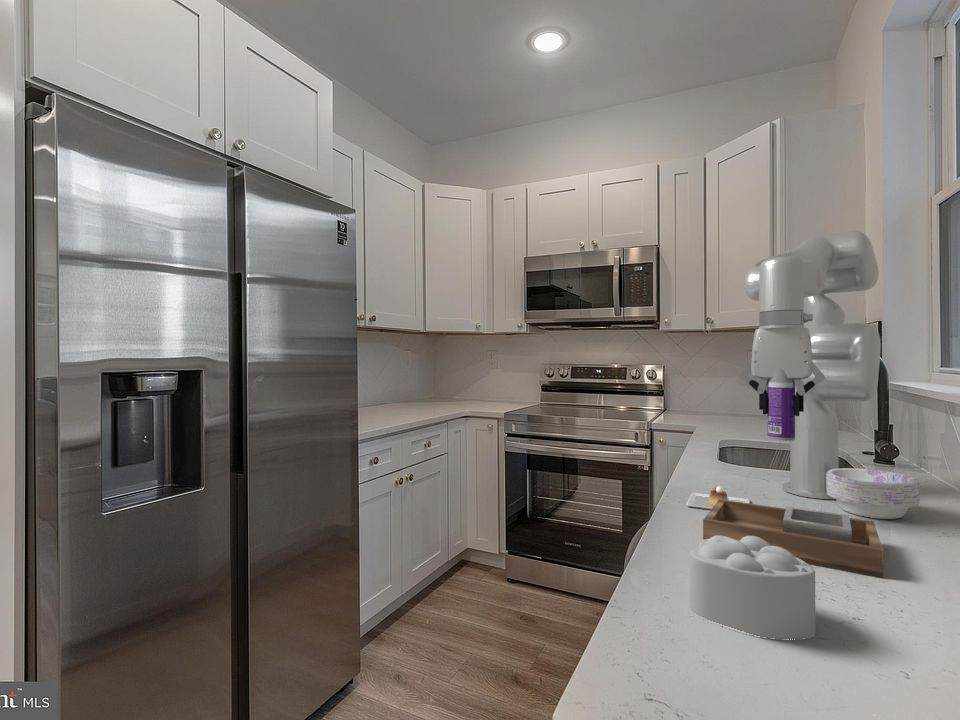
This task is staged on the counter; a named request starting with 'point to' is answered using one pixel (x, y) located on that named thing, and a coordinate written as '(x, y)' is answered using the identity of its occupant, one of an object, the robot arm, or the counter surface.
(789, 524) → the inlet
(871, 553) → the walled tray
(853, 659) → the counter surface
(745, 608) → the lumpy-topped squat cylinder
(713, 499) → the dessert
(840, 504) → the paper bowls
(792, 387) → the container
